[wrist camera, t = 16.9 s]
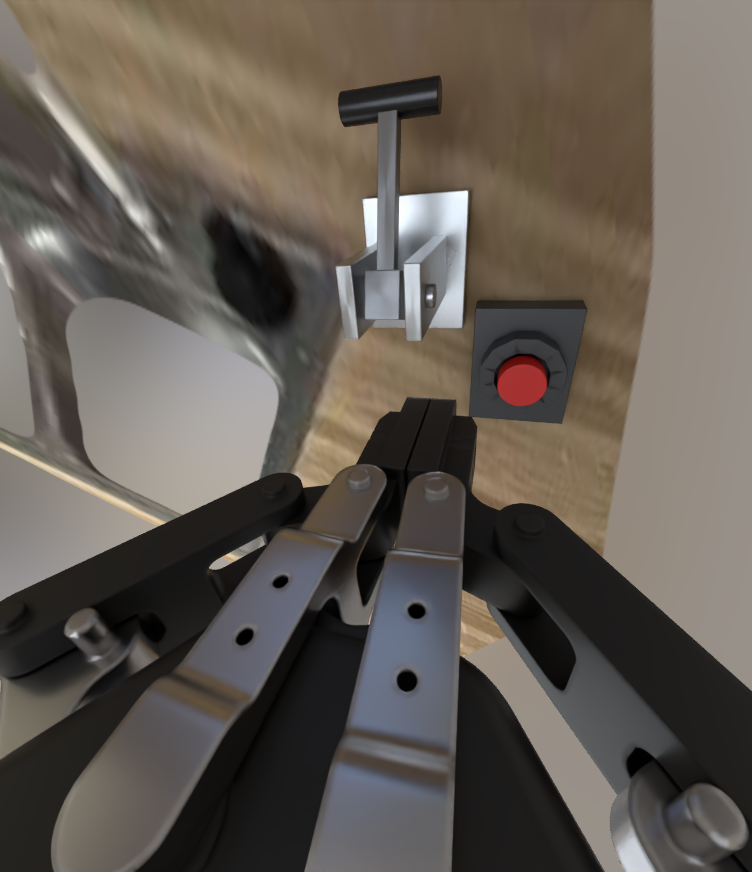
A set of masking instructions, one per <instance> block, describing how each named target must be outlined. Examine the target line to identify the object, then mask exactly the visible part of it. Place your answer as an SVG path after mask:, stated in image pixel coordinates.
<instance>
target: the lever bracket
mask: <svg viewBox="0 0 752 872" xmlns="http://www.w3.org/2000/svg"><path fill="white" fill-rule="evenodd" d="M470 192H471V190H470V189H461V190H449V191H437V192H424V193H412V194H400V196H399V242H398V270H401V271H403V277H404V304H405V320H365V271H366V270H377V196H376V197H366V198H362V204H363V216H364V227H365V239H366V249H364V250H362V251H361V252H359V253H357V254H355V255H354V256H352V257H350V258H348V259H347V260H345V261H343V262H341V263H340V264H338V265H336V266H335V268H336V276H337V283H338V291H339V303H340V307H341V315H342V322H343V330H344V338H345V339H356V340H358V339H360V338H361V336H362V335H363V334H364V333H365V332H366V331H367V330H368V328H369V327H370V326H371V325H372V324H373V327H385V328H405V330H406V341H422V339H423V337H424V335H425V333H426V331H427V329H428V328H452V329H462V328H463V326H464V317H465V296H466V275H467V254H468V233H469V213H470Z"/></svg>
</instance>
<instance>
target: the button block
mask: <svg viewBox="0 0 752 872" xmlns="http://www.w3.org/2000/svg"><path fill="white" fill-rule="evenodd" d="M586 313H587V307H586V306H585V304H584V302H583V301H478V302H477V306H476V311H475V327H474V343H473V359H472V375H471V391H470V406H469V417H481V418H494V419H507V420H520V421H533V422H547V423H560V424H562V421H563V417H564V412H565V408H566V403H567V399H568V394H569V390H570V385H571V381H572V376H573V372H574V367H575V363H576V358H577V354H578V349H579V344H580V340H581V335H582V331H583V326H584V322H585V317H586ZM517 356H530V357H533V358H535V359H537V360H538V361H540V362H541V363H542V365H543V366H544V368H545V372H546V378H547V388H546V391H545V393H544V395H543V396H542V397H541V398H540V399H539V400H538V401H536V402H535V403H533V404H530V405H526V406H515V405H512V404H509V403H507V402H506V401H505V400H503V399H502V397H501V396H500V395H499V392H498V388H497V384H498V373H499V370H500V368H501V367H502V365H503V364H504V363H505V362H506V361H508V360H509V359H511V358H514V357H517Z"/></svg>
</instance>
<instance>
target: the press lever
mask: <svg viewBox="0 0 752 872" xmlns="http://www.w3.org/2000/svg"><path fill="white" fill-rule="evenodd" d="M338 107H339V114H340V118H341V122H342V124H343V126H344V127H351V126H358V125H365V124H373V123H378V174H377V270H366V271H365V320H405V304H404V277H403V271H401V270H398V242H399V196H400V151H401V120H402V119H409V118H417V117H424V116H431V115H439V114H440V113H441V108H442V82H441V77H440V76H439V75H438V76H432V77H426V78H420V79H414V80H408V81H402V82H396V83H390V84H383V85H377V86H371V87H365V88H359V89H353V90H347V91H341V92H340V93H339V98H338Z"/></svg>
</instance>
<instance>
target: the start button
mask: <svg viewBox="0 0 752 872" xmlns="http://www.w3.org/2000/svg"><path fill="white" fill-rule="evenodd" d="M497 388H498V392H499V395H500V396H501V397H502V399H503V400H505V401H506V402H507V403H509V404H512V405H515V406H526V405H530V404H533V403H535V402H536V401H538V400H539V399H540V398H541V397H542V396H543V395H544V393H545V391H546V388H547V378H546V372H545V368H544V366H543V365H542V363H541V362H540V361H538V360H537V359H535V358H533V357H530V356H517V357H514V358H511V359H509V360H508V361H506V362H505V363H504V364H503V365H502V367H501V368H500V370H499V373H498V384H497Z"/></svg>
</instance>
